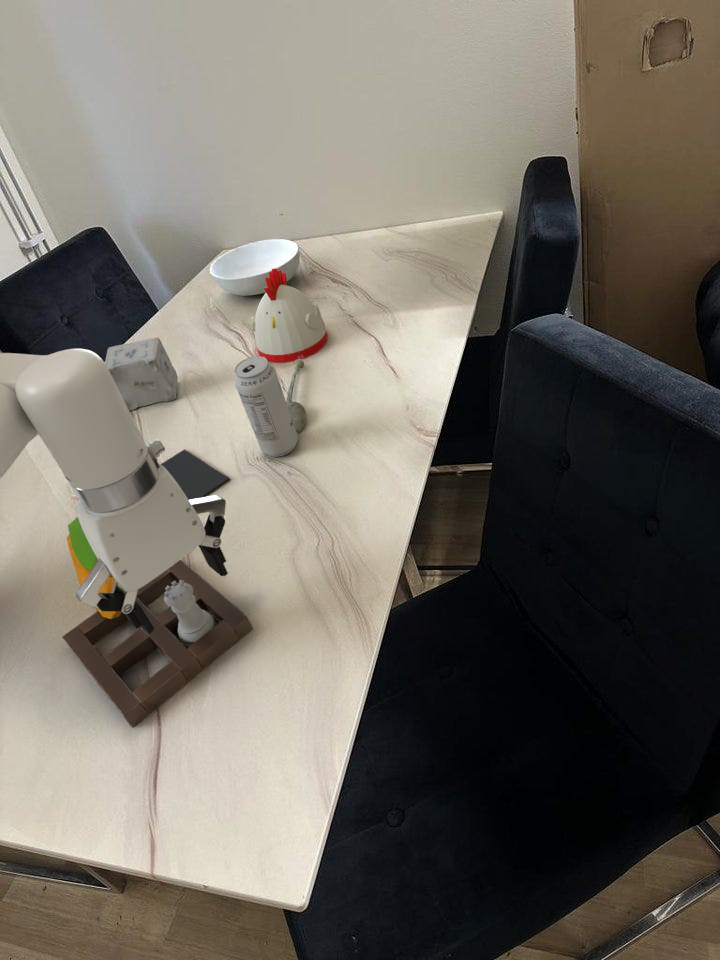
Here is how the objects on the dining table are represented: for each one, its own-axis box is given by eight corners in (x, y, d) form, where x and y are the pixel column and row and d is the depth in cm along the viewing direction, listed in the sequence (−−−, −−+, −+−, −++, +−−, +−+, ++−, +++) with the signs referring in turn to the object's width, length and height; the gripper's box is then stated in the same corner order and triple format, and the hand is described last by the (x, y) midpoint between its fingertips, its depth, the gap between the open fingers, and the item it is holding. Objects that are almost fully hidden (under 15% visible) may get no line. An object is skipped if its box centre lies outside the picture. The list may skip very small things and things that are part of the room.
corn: (101, 486, 89) (132, 575, 75) (127, 525, 94) (161, 616, 79) (48, 513, 88) (69, 609, 73) (78, 551, 93) (103, 649, 78)
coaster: (156, 530, 93) (155, 528, 93) (114, 495, 101) (113, 493, 101) (230, 480, 99) (229, 477, 98) (185, 451, 107) (184, 449, 107)
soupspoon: (265, 443, 106) (306, 440, 105) (260, 426, 103) (302, 423, 103) (283, 368, 122) (318, 364, 121) (279, 352, 120) (315, 348, 119)
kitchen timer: (247, 363, 126) (222, 289, 117) (273, 328, 136) (252, 257, 127) (315, 361, 122) (295, 284, 113) (336, 325, 132) (319, 251, 122)
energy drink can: (307, 441, 102) (280, 361, 92) (278, 464, 100) (247, 384, 89) (282, 428, 106) (254, 349, 95) (254, 449, 103) (221, 371, 93)
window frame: (132, 728, 69) (123, 716, 67) (70, 647, 79) (61, 636, 78) (253, 628, 76) (247, 616, 75) (181, 566, 86) (175, 555, 85)
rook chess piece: (181, 655, 75) (155, 610, 70) (181, 625, 78) (155, 580, 73) (220, 643, 75) (196, 597, 70) (217, 614, 79) (194, 568, 74)
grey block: (123, 416, 120) (98, 366, 113) (131, 392, 126) (108, 344, 120) (175, 405, 119) (153, 354, 113) (181, 381, 126) (160, 332, 119)
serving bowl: (202, 295, 157) (192, 267, 153) (271, 261, 166) (264, 234, 162) (251, 314, 144) (242, 284, 139) (323, 275, 153) (317, 246, 148)
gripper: (173, 419, 68) (227, 536, 79) (16, 516, 61) (99, 631, 71) (212, 442, 63) (264, 564, 74) (47, 550, 56) (131, 669, 66)
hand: (183, 597), depth 73 cm, fingers open, 9 cm apart
